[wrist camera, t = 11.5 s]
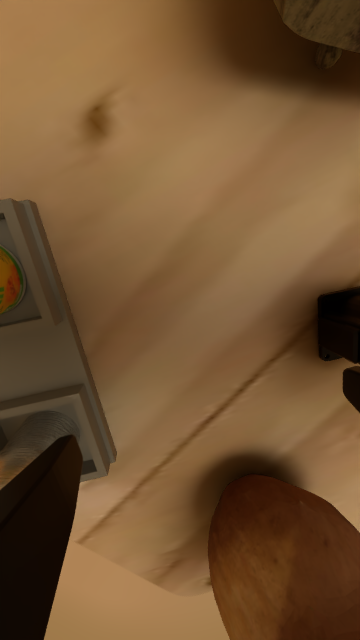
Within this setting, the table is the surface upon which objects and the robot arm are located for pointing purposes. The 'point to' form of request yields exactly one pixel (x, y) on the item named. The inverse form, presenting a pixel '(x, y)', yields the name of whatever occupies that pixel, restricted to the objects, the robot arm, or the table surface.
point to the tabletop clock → (324, 25)
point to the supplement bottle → (10, 280)
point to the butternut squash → (283, 563)
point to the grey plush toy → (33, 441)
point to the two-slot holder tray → (46, 347)
